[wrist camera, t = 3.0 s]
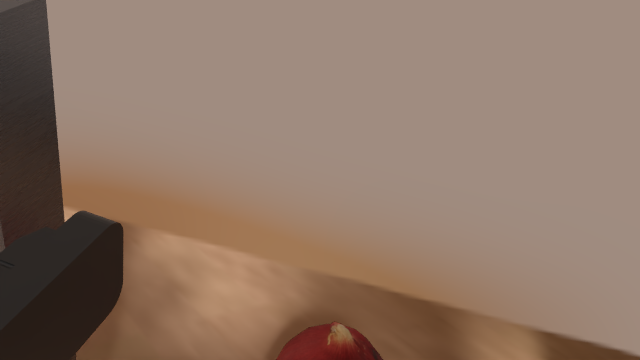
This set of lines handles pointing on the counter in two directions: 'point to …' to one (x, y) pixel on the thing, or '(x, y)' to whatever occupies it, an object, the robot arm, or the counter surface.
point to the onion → (329, 345)
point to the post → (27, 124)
